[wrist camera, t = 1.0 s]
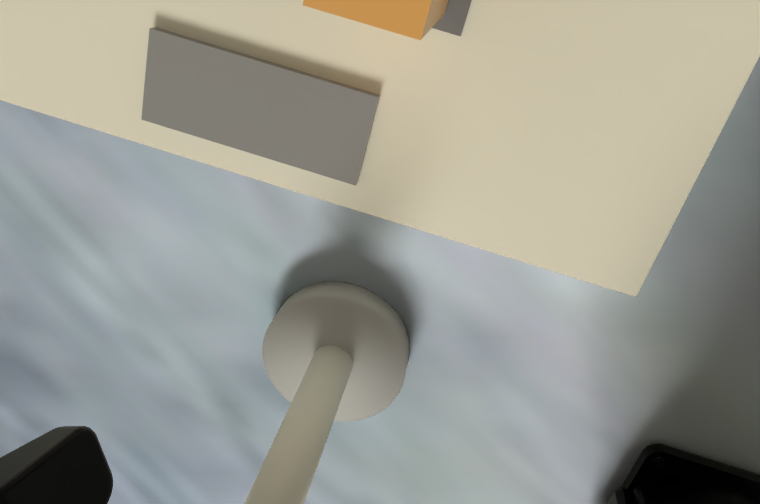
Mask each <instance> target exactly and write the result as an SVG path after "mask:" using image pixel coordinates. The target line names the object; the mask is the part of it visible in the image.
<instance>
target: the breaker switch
mask: <svg viewBox="0 0 760 504" xmlns="http://www.w3.org/2000/svg"><path fill="white" fill-rule="evenodd" d="M448 1H449V0H304V1H303V6H307V7H310V8H314V9H317V10H320V11H324V12H327V13H330V14H334V15H337V16H340V17H344V18H347V19H351V20H354V21H357V22H361V23H364V24H367V25H371V26H374V27H377V28H381V29H384V30H387V31H391V32H394V33H398V34H401V35H404V36H408V37H411V38H414V39H418V40H421V39H422V38H423V37H424V36H425V35H426V34H427V33H428V32H429V30H430V29H431V28H432V27H433V26H434V25H435V24H436V23H437V22H438V20H439V19H440V18H441V17H442V16H443V15H444V14H445V11H446V8H447V4H448Z"/></svg>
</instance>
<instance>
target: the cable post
mask: <svg viewBox="0 0 760 504" xmlns="http://www.w3.org/2000/svg"><path fill="white" fill-rule="evenodd" d="M409 352H410V347H409V339H408V334H407V331H406V329H405V326H404V324H403V322H402V320H401V318H400V317H399V316H398V314H397V313H396V311H395V310H394V309H393V308H392V307H391V306H390V305H389V304H388V303H387V302H386V301H384V300H383V299H382V298H381V297H379V296H378V295H376V294H375V293H373V292H371V291H369V290H367V289H365V288H362V287H360V286H357V285H353V284H349V283H343V282H321V283H316V284H312V285H309V286H307V287H304V288H302V289H300V290H298V291H297V292H295V293H294V294H293V295H291V296H290V297H289V298H288V299H287V300H286V301H285V302H284V303H283V305H282V306H281V308H280V309H279V311H278V313H277V314H276V316H275V317H274V319H273V321H272V322H271V324H270V325H269V327H268V329H267V331H266V334H265V337H264V341H263V360H264V365H265V368H266V371H267V374H268V376H269V378H270V380H271V381H272V383H273V385H274V386H275V387H276V389H277V390H278V391H279V392H280V394H282V395H283V396H284V397H285V398H286V399H287V400H288V401H289V402H290V403H291V405H290V407H289V409H288V411H287V413H286V416H285V418H284V420H283V422H282V424H281V426H280V428H279V431H278V433H277V435H276V437H275V439H274V441H273V443H272V446H271V448H270V450H269V452H268V454H267V456H266V459H265V461H264V463H263V465H262V467H261V469H260V471H259V474H258V476H257V478H256V480H255V482H254V484H253V486H252V489H251V491H250V493H249V495H248V497H247V499H246V502H245V504H304V502H305V499H306V497H307V494H308V491H309V488H310V485H311V483H312V480H313V477H314V474H315V471H316V469H317V466H318V463H319V460H320V457H321V455H322V452H323V449H324V446H325V443H326V441H327V438H328V435H329V432H330V429H331V427H332V424H333V421H355V420H361V419H364V418H368V417H371V416H373V415H375V414H377V413H379V412H381V411H382V410H384V409H385V408H386V407H387V406H389V405H390V404H391V403H392V402H393V400H394V399H395V398H396V396H397V395H398V393H399V392H400V389H401V387H402V385H403V381H404V377H405V373H406V368H407V364H408V360H409Z"/></svg>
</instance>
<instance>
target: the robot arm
mask: <svg viewBox="0 0 760 504" xmlns="http://www.w3.org/2000/svg"><path fill="white" fill-rule="evenodd" d="M658 457H660V458H663V459H662V460H659V461H654V459H655V458H658ZM112 488H113V477H112V473H111V470H110V468H109V465H108V463H107V460H106V458H105V456H104V453H103V451H102V448H101V446H100V443H99V441H98V438H97V436H96V434H95V432H94V431H93V430H92V429H90V428H89V427H86V426H64V427H58V428H55V429H53V430H51V431H49V432H47V433H46V434H44V435H42V436H40V437H38V438H36V439H34V440H33V441H31V442H29V443H27V444H25V445H23V446H21V447H19V448H18V449H16V450H14V451H12V452H10V453H8V454H6V455H5V456H3V457H1V458H0V504H107V503H108V501H109V498H110V496H111V493H112ZM607 504H760V475H757V474H753V473H750V472H747V471H744V470H741V469H738V468H735V467H731V466H728V465H725V464H722V463H719V462H716V461H713V460H710V459H706V458H703V457H700V456H697V455H694V454H691V453H688V452H684V451H681V450H678V449H675V448H672V447H669V446H666V445H661V444H653V445H650V446H648V447H646V448H645V449H644V450H643V452H642V453H641V455H640V457H639V459H638V460H637V462H636V464H635V465H634V467H633V469H632V470H631V472H630V474H629V475H628V477H627V479H626V480H625V482H624V484H623V485H622V487H621V488H618V489H617V490H615V491H614V492H613V494H612V495H611V497H610V499H609V500H608V502H607Z"/></svg>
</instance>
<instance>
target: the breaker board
mask: <svg viewBox="0 0 760 504" xmlns="http://www.w3.org/2000/svg"><path fill="white" fill-rule="evenodd" d="M303 1H304V0H0V100H2V101H5V102H8V103H11V104H15V105H18V106H21V107H24V108H28V109H31V110H34V111H37V112H41V113H44V114H47V115H50V116H53V117H57V118H60V119H63V120H66V121H70V122H73V123H76V124H79V125H82V126H86V127H89V128H92V129H95V130H99V131H102V132H105V133H108V134H112V135H115V136H118V137H121V138H124V139H128V140H131V141H134V142H137V143H141V144H144V145H147V146H150V147H154V148H157V149H160V150H163V151H166V152H170V153H173V154H176V155H179V156H183V157H186V158H189V159H192V160H195V161H199V162H202V163H205V164H208V165H212V166H215V167H218V168H221V169H225V170H228V171H231V172H234V173H237V174H241V175H244V176H247V177H250V178H254V179H257V180H260V181H263V182H266V183H270V184H273V185H276V186H279V187H283V188H286V189H289V190H292V191H296V192H299V193H302V194H305V195H308V196H312V197H315V198H318V199H321V200H325V201H328V202H331V203H334V204H338V205H341V206H344V207H347V208H350V209H354V210H357V211H360V212H363V213H367V214H370V215H373V216H376V217H379V218H383V219H386V220H389V221H392V222H396V223H399V224H402V225H405V226H409V227H412V228H415V229H418V230H421V231H425V232H428V233H431V234H434V235H438V236H441V237H444V238H447V239H451V240H454V241H457V242H460V243H463V244H467V245H470V246H473V247H476V248H480V249H483V250H486V251H489V252H492V253H496V254H499V255H502V256H505V257H509V258H512V259H515V260H518V261H522V262H525V263H528V264H531V265H534V266H538V267H541V268H544V269H547V270H551V271H554V272H557V273H560V274H563V275H567V276H570V277H573V278H576V279H580V280H583V281H586V282H589V283H593V284H596V285H599V286H602V287H605V288H609V289H612V290H615V291H618V292H622V293H625V294H628V295H631V296H635V297H636V296H637V294H638V292H639V290H640V288H641V286H642V285H643V283H644V281H645V279H646V277H647V275H648V273H649V271H650V269H651V267H652V265H653V263H654V261H655V259H656V257H657V255H658V253H659V251H660V249H661V248H662V246H663V244H664V242H665V240H666V238H667V236H668V234H669V232H670V230H671V228H672V226H673V224H674V222H675V220H676V218H677V216H678V214H679V212H680V211H681V209H682V207H683V205H684V203H685V201H686V199H687V197H688V195H689V193H690V191H691V189H692V187H693V185H694V183H695V181H696V179H697V177H698V175H699V174H700V172H701V170H702V168H703V166H704V164H705V162H706V160H707V158H708V156H709V154H710V152H711V150H712V148H713V146H714V144H715V142H716V140H717V138H718V136H719V135H720V133H721V131H722V129H723V127H724V125H725V123H726V121H727V119H728V117H729V115H730V113H731V111H732V109H733V107H734V105H735V103H736V101H737V99H738V98H739V96H740V94H741V92H742V90H743V88H744V86H745V84H746V82H747V80H748V78H749V76H750V74H751V72H752V70H753V68H754V66H755V64H756V62H757V61H758V59H759V57H760V0H449V1H448V4H447V8H446V11H445V14H444V15H443V16H442V17H441V18H440V19H439V20H438V22H437V23H436V24H435V25H434V26H433V27H432V28H431V29H430V30H429V32H428V33H427V34H426V35H425V36H424V37H423V38H422V39H421V40H418V39H414V38H411V37H408V36H404V35H401V34H398V33H394V32H391V31H387V30H384V29H381V28H377V27H374V26H371V25H367V24H364V23H361V22H357V21H354V20H351V19H347V18H344V17H340V16H337V15H334V14H330V13H327V12H324V11H320V10H317V9H314V8H310V7H307V6H303Z"/></svg>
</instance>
